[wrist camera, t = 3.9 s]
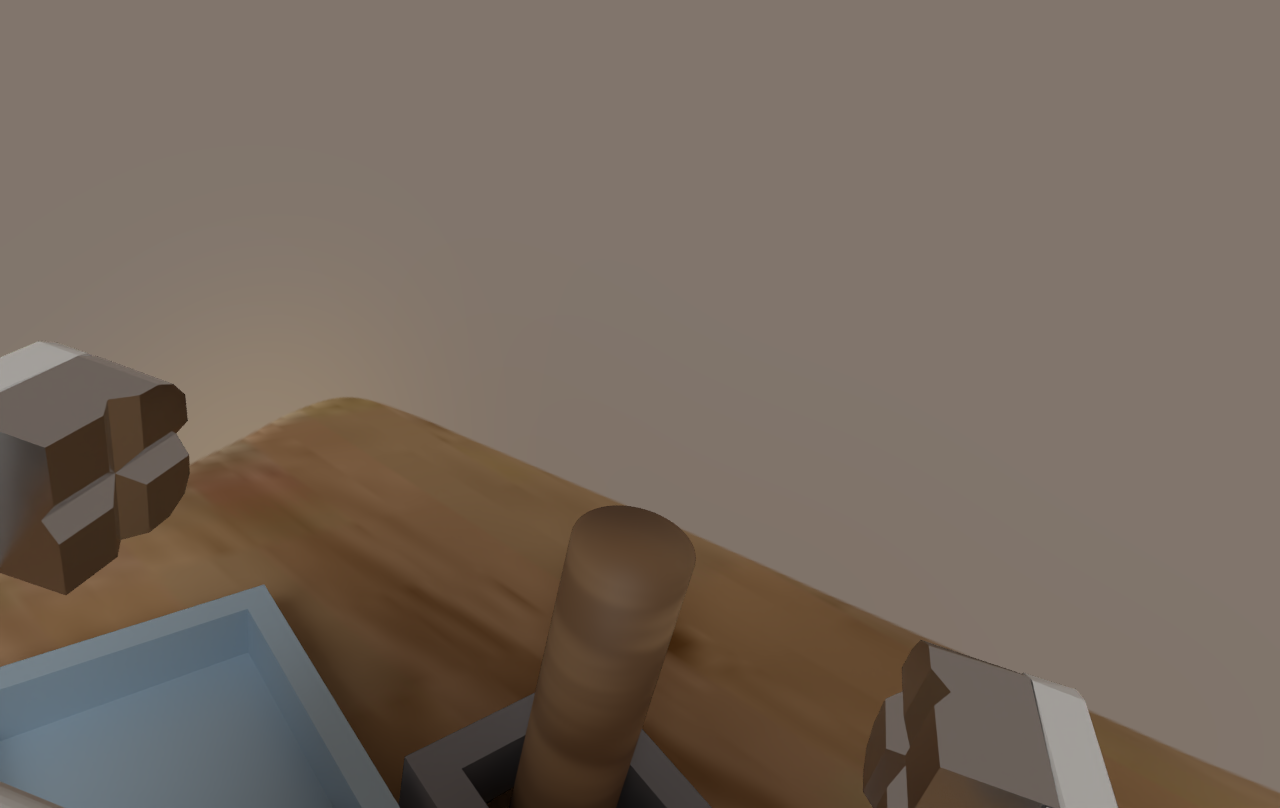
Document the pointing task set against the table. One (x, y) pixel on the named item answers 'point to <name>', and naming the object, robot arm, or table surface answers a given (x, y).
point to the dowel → (602, 657)
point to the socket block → (489, 758)
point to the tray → (184, 718)
